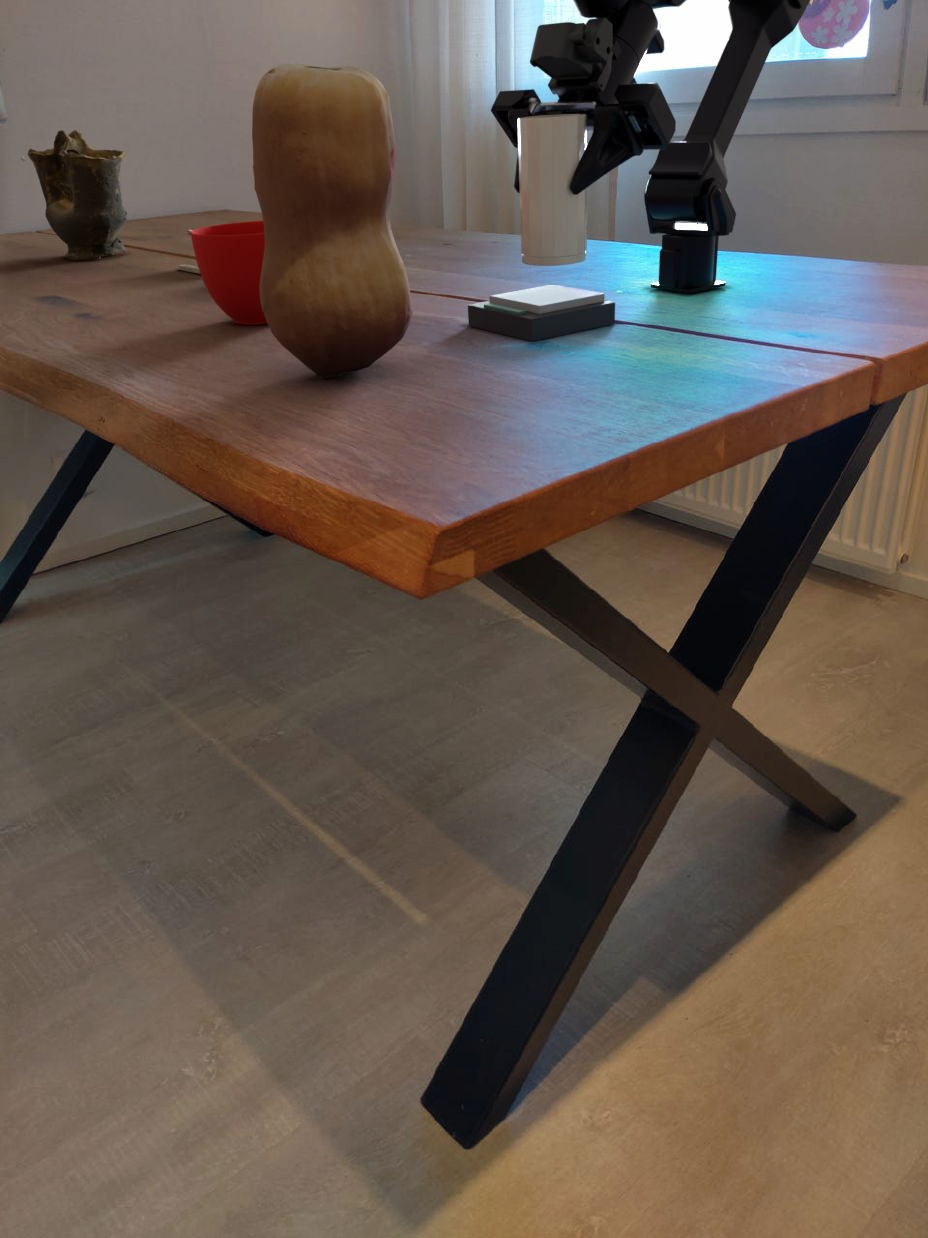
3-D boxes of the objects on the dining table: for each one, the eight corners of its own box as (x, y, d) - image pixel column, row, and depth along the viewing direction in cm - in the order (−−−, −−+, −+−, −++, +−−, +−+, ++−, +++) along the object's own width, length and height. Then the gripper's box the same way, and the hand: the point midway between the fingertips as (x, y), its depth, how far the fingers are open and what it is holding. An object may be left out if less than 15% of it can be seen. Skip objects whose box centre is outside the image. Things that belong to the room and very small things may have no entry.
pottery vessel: (38, 254, 181) (9, 132, 171) (96, 246, 187) (71, 127, 177) (92, 266, 163) (63, 130, 154) (154, 257, 169) (130, 126, 160)
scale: (548, 310, 113) (548, 282, 112) (614, 323, 105) (615, 294, 104) (468, 325, 108) (467, 296, 106) (532, 341, 100) (531, 310, 98)
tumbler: (578, 253, 104) (577, 112, 98) (592, 262, 98) (593, 114, 92) (517, 258, 103) (512, 117, 97) (528, 267, 98) (524, 118, 92)
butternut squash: (431, 379, 88) (410, 53, 77) (279, 398, 85) (232, 62, 74) (396, 347, 100) (372, 61, 89) (261, 363, 97) (218, 69, 86)
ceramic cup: (258, 301, 128) (246, 216, 123) (340, 314, 117) (331, 222, 112) (167, 319, 120) (150, 229, 115) (246, 336, 109) (231, 237, 104)
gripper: (499, -3, 98) (429, 131, 96) (664, -24, 87) (589, 127, 85) (549, 85, 107) (486, 209, 105) (706, 76, 96) (638, 215, 94)
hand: (544, 190), depth 97 cm, fingers closed on tumbler, 6 cm apart
